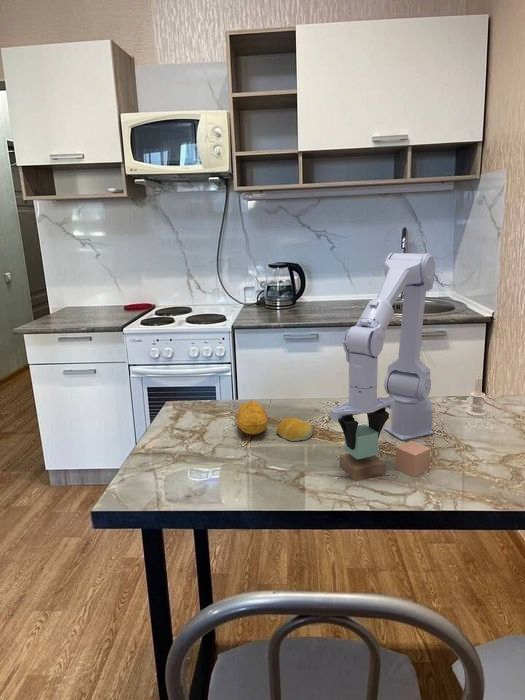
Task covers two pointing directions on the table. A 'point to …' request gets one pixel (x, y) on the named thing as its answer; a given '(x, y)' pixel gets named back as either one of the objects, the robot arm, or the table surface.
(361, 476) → the walnut block
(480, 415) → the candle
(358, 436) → the teal cube
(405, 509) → the table surface
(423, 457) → the terracotta cube
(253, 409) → the orange oval lump
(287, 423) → the bread roll
